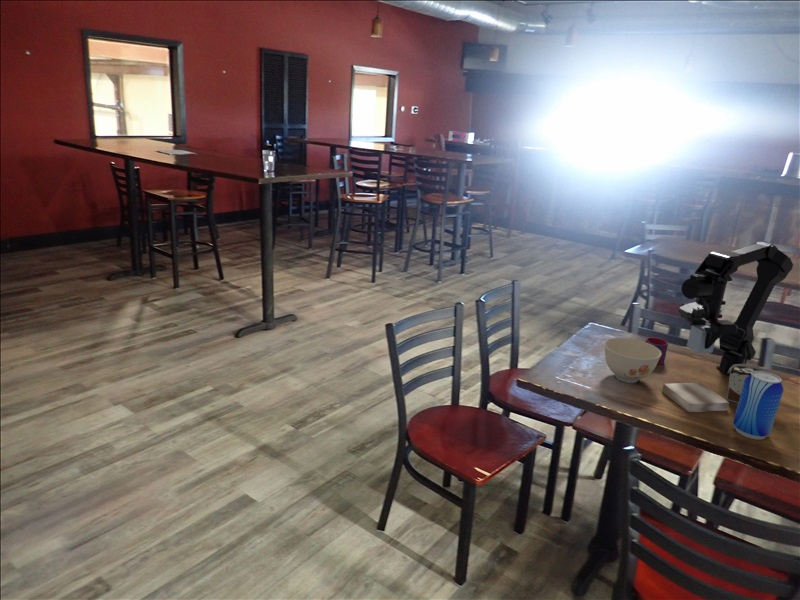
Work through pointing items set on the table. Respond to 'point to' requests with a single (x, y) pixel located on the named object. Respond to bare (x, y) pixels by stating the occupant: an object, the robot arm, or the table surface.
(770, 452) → the table surface
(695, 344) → the slate block
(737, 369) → the food container
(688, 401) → the birch base
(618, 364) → the bowl
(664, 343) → the mug
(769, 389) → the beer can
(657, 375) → the table surface
